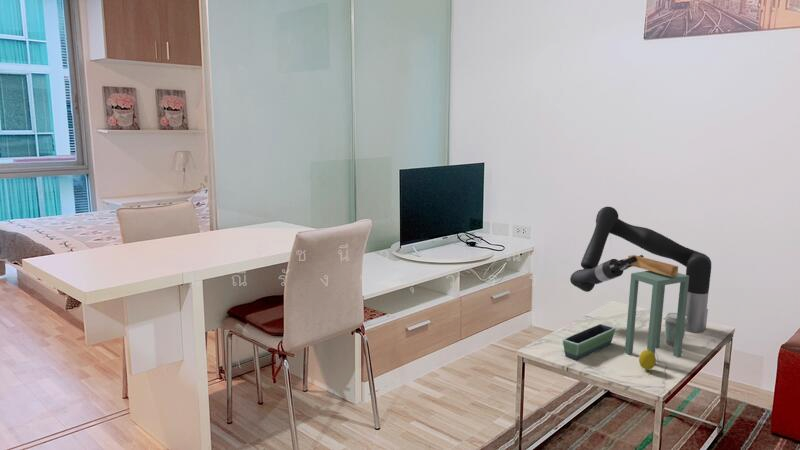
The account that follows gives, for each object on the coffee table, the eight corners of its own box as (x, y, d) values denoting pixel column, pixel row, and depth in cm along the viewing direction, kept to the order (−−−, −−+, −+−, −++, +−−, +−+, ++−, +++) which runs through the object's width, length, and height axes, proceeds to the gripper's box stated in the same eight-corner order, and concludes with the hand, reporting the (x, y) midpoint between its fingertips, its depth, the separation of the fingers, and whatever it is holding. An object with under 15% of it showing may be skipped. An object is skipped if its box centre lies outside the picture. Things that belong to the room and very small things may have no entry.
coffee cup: (665, 347, 233) (668, 318, 231) (659, 339, 242) (662, 311, 240) (688, 348, 232) (691, 319, 230) (681, 340, 240) (684, 312, 238)
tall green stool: (655, 345, 235) (662, 268, 229) (681, 356, 224) (689, 275, 219) (624, 352, 227) (631, 273, 222) (650, 364, 217) (657, 281, 211)
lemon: (635, 367, 214) (637, 346, 213) (649, 366, 215) (651, 346, 213) (642, 373, 209) (644, 352, 207) (657, 373, 209) (659, 352, 208)
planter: (577, 362, 218) (578, 344, 217) (560, 356, 224) (561, 339, 222) (614, 344, 236) (616, 327, 235) (598, 339, 241) (599, 323, 240)
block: (633, 263, 233) (634, 254, 232) (677, 275, 215) (678, 266, 215) (627, 264, 231) (628, 255, 231) (670, 276, 214) (671, 267, 213)
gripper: (593, 263, 241) (623, 250, 226) (618, 260, 247) (648, 247, 232) (599, 281, 238) (629, 269, 224) (624, 277, 245) (655, 265, 230)
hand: (639, 257), depth 228 cm, fingers closed on block, 3 cm apart
